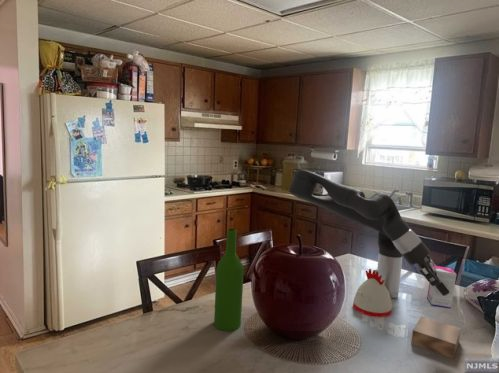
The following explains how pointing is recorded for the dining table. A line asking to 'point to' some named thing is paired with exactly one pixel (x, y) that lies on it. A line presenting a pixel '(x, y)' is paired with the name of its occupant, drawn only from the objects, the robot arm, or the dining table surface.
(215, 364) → the dining table surface
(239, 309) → the wine bottle
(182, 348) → the dining table surface
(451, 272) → the supplement box
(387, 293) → the kitchen timer
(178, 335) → the dining table surface
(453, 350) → the walnut block
